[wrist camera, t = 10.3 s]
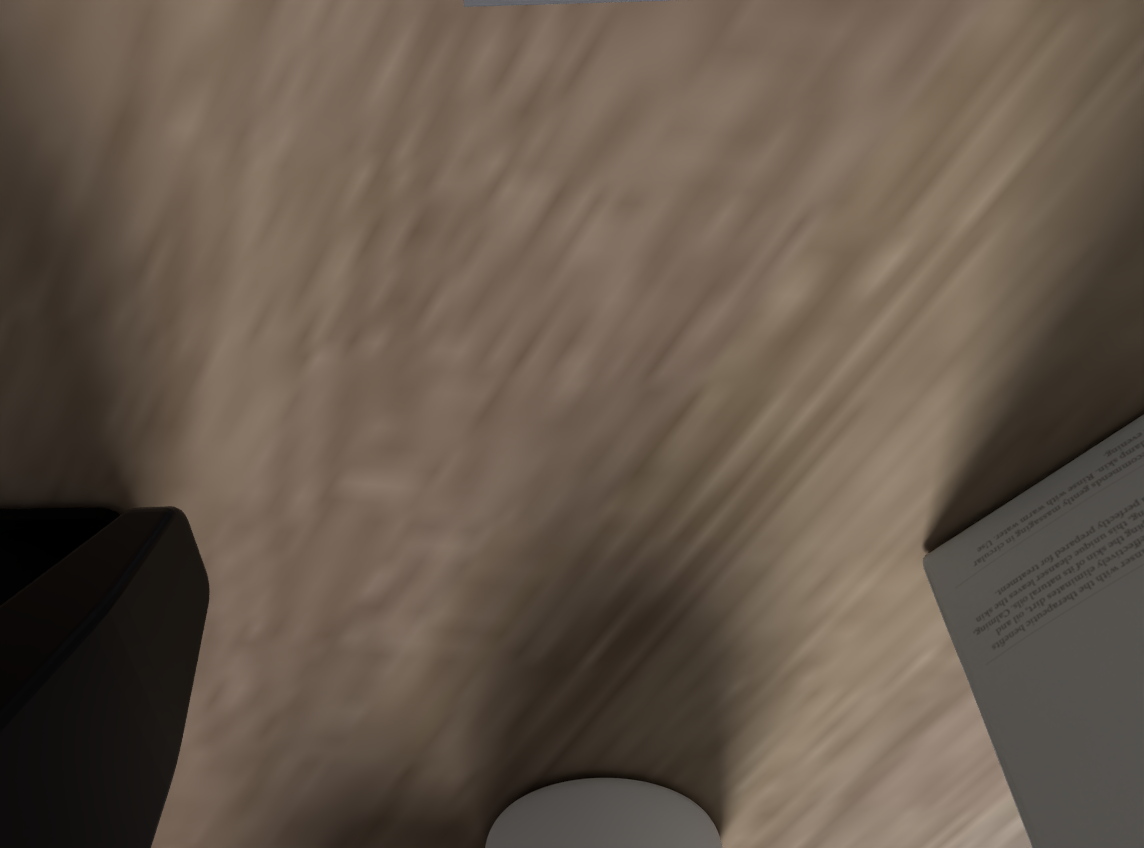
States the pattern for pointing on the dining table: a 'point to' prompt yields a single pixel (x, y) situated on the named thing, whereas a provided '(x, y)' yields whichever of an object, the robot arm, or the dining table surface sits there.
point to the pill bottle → (603, 818)
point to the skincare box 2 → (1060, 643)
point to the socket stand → (536, 2)
